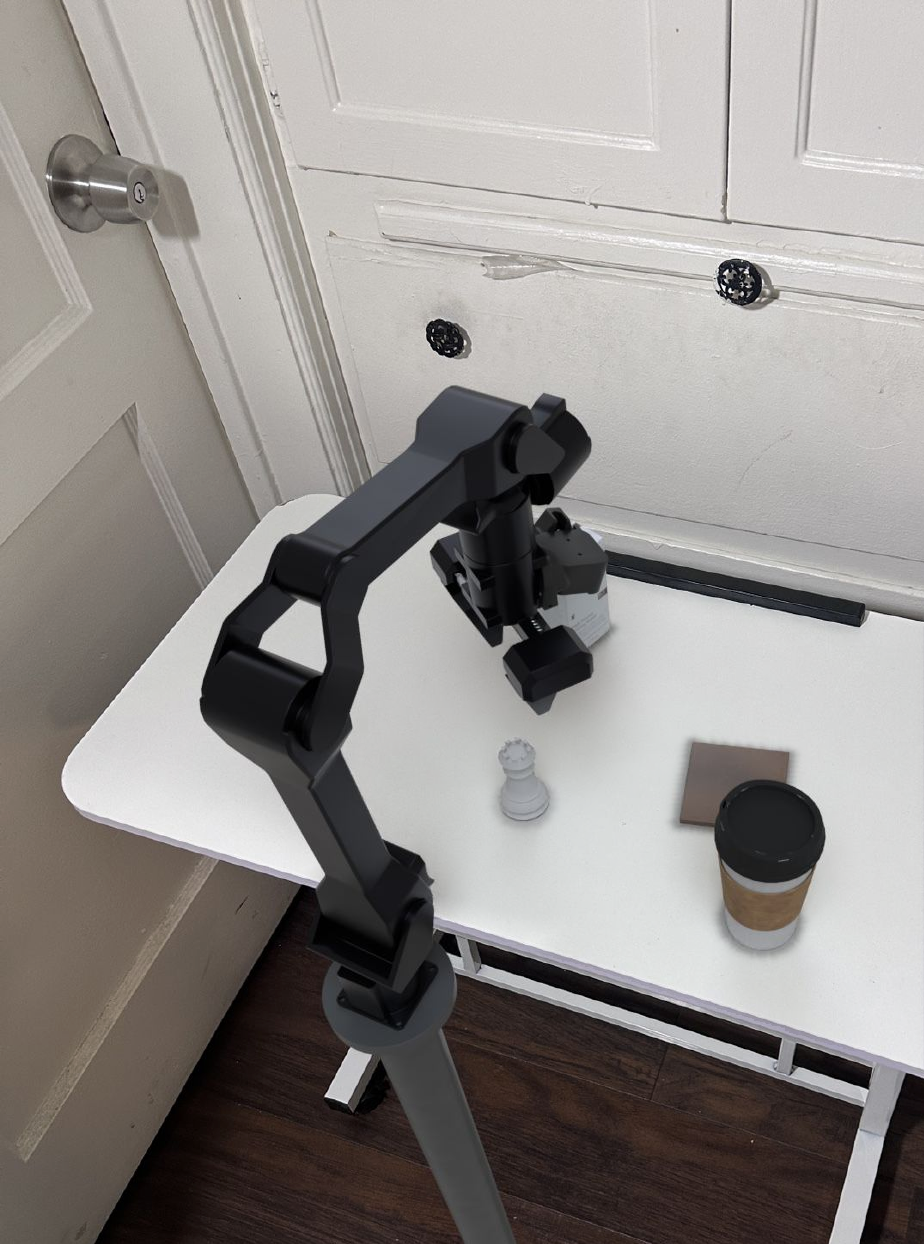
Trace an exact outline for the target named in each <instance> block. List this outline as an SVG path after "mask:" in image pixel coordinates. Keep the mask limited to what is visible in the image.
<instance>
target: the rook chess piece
mask: <svg viewBox="0 0 924 1244" xmlns="http://www.w3.org/2000/svg"><path fill="white" fill-rule="evenodd" d="M536 755H537V753H536V750H535V747H534V746H533V745H531V743H530V742H529V741H528V740H527V739H524V740H522V739H521V737H516V736H515V737H514V740H513V741H512V740H511V739H510V738H509V739H507V740H505V741H504V745H502V746H501V749H500V750H499V752H498V757H497V758H498V761H499V764H500V765H501V766H502V770H503V774H505V775H506V776H505V782H504V783H503V785H502V787H501V789H500V794H499V799H500V801H499V802H500V803H499V804H500V807H501V810H502V812H503V813H504V814H505V815H506V816H508V817H509V818H511V819H514V820H516V821H529V820H533V819H535V818H537V817H538V816H540V815H542V814H543V813H544V812H545V811H546V809H547V807H548V806H549V801H550V795H549V793H548V789H547V786H546V784H545V782H544V781H543V780H542V779H540V778H539V776H538V775H536V773H535V772H534V770H535V767H536V763H535V760H536Z"/></svg>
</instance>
